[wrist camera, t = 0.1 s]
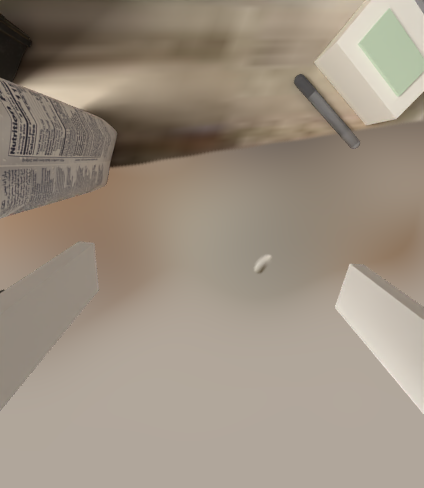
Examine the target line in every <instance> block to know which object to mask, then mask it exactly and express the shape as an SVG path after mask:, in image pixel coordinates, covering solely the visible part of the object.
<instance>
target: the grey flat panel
mask: <svg viewBox="0 0 424 488" xmlns="http://www.w3.org/2000/svg"><path fill="white" fill-rule="evenodd" d="M294 83H295V85H296V86H297V88H298V89H299V90H300V91H301V92H302V93H303V94H304V95H305V97H306V98H307V99H308V100H309V101H310V102H311V103H312V105H313V106H314V107H315V108H316V109H317V110H318V111H319V112H320V114H321V115H322V116H323V117H324V118H325V119H326V120H327V122H328V123H329V124H330V125H331V126H332V127H333V128H334V130H335V131H336V132H337V133H338V134H339V135H340V136H341V137H342V139H343V140H344V141H345V142H346V143H347V144H348V145H349V147H350V148H352V149H355V148H357V147H358V146H359V145H360V141H359V140H358V138H357V137H356V136H355V135H354V134H353V132H352V131H351V130H350V129H349V128H348V127H347V125H346V124H345V123H344V122H343V121H342V120H341V118H340V117H339V116H338V115H337V114H336V113H335V111H334V110H333V109H332V108H331V107H330V106H329V104H328V103H327V102H326V101H325V100H324V99H323V97H322V96H321V95H320V94H319V93H318V92H317V90H316V89H315V88H314V87H313V86H312V85H311V83H310V82H309V81H308V80H307V79H306V78H305V76H304V75H302V74H299V75H297V76H296V77H295V80H294Z"/></svg>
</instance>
